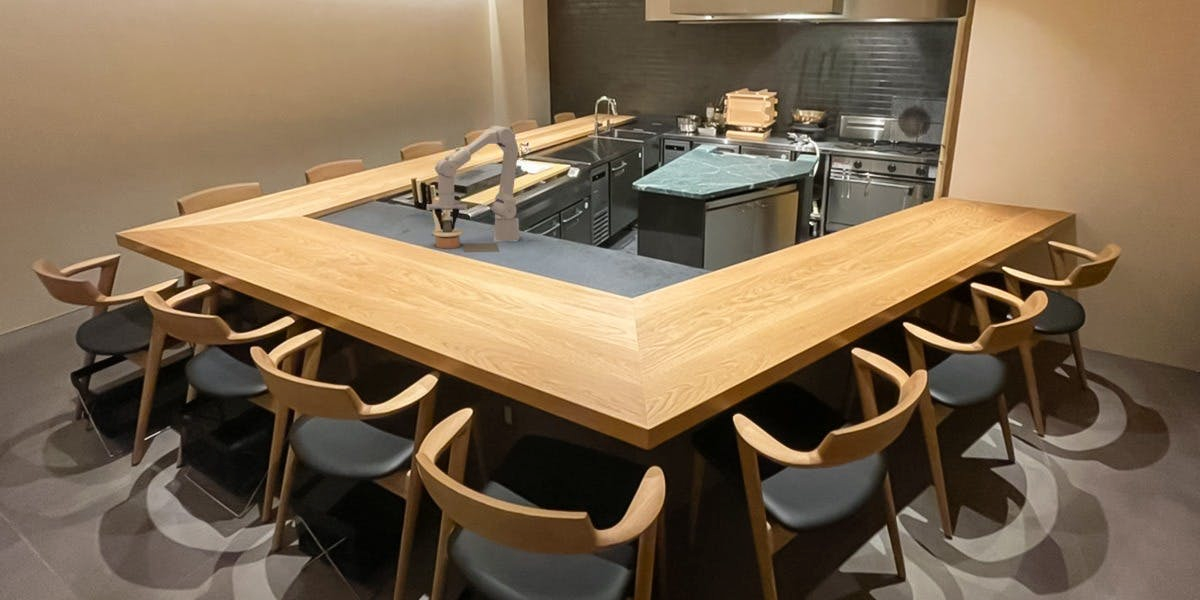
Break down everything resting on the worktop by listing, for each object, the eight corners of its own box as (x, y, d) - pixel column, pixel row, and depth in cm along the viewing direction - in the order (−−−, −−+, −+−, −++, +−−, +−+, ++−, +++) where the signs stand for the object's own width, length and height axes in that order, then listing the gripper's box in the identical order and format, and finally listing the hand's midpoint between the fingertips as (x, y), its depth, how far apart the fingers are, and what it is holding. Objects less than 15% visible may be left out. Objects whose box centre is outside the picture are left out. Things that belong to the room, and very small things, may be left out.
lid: (461, 229, 258) (461, 217, 256) (463, 236, 248) (462, 223, 246) (432, 230, 255) (431, 218, 254) (432, 237, 245) (432, 224, 244)
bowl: (459, 243, 258) (459, 233, 257) (460, 248, 250) (459, 238, 249) (436, 243, 256) (435, 233, 255) (435, 249, 248) (435, 238, 247)
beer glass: (453, 234, 272) (452, 197, 268) (448, 238, 266) (446, 200, 261) (436, 233, 273) (435, 196, 268) (430, 236, 266) (429, 199, 261)
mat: (496, 244, 260) (496, 243, 259) (499, 252, 248) (499, 251, 247) (462, 244, 257) (462, 243, 256) (463, 253, 245) (463, 251, 244)
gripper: (425, 194, 241) (427, 231, 246) (466, 194, 245) (467, 231, 249) (426, 191, 248) (427, 227, 252) (466, 191, 251) (466, 227, 255)
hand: (447, 229), depth 251 cm, fingers closed on lid, 4 cm apart
